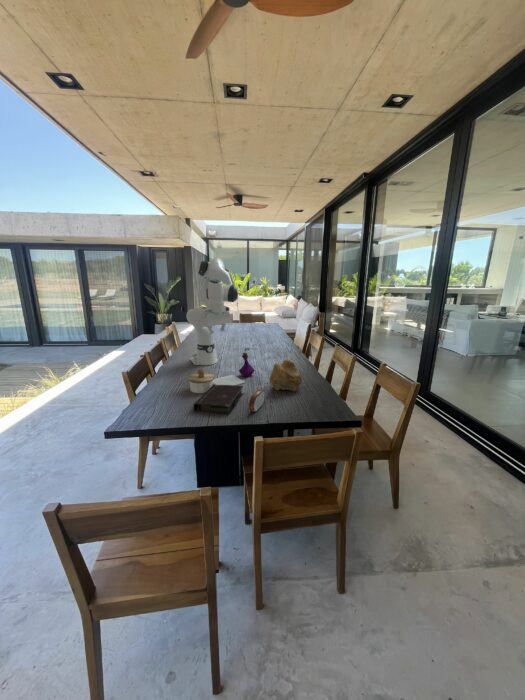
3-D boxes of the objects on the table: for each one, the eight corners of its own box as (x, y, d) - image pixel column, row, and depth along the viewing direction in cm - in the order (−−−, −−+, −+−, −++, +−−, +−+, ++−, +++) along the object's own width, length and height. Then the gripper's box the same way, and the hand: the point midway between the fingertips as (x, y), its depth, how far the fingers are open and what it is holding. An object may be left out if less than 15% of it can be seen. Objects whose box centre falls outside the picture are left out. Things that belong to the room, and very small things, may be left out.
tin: (260, 401, 149) (260, 385, 147) (266, 402, 148) (266, 386, 146) (248, 414, 136) (247, 397, 134) (254, 415, 135) (254, 398, 132)
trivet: (208, 380, 177) (208, 380, 177) (231, 375, 186) (231, 374, 186) (222, 389, 165) (222, 388, 165) (245, 383, 174) (245, 382, 174)
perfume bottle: (247, 378, 182) (247, 350, 178) (238, 375, 186) (238, 348, 182) (255, 375, 188) (255, 347, 183) (246, 372, 192) (245, 345, 188)
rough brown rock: (293, 399, 154) (296, 372, 150) (264, 391, 161) (267, 365, 157) (307, 386, 174) (310, 362, 170) (281, 379, 181) (284, 356, 177)
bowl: (187, 387, 166) (186, 377, 165) (206, 383, 173) (206, 373, 172) (196, 394, 157) (195, 384, 155) (216, 389, 164) (216, 379, 162)
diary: (193, 412, 138) (192, 402, 137) (212, 392, 162) (211, 383, 161) (231, 415, 135) (230, 405, 134) (245, 394, 158) (244, 385, 157)
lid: (189, 374, 169) (189, 366, 168) (214, 374, 171) (214, 365, 170) (186, 383, 156) (186, 374, 155) (213, 382, 157) (213, 373, 156)
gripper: (207, 310, 159) (208, 336, 162) (231, 307, 176) (232, 330, 179) (199, 310, 162) (200, 334, 166) (223, 306, 179) (224, 329, 182)
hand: (217, 332), depth 172 cm, fingers open, 8 cm apart
